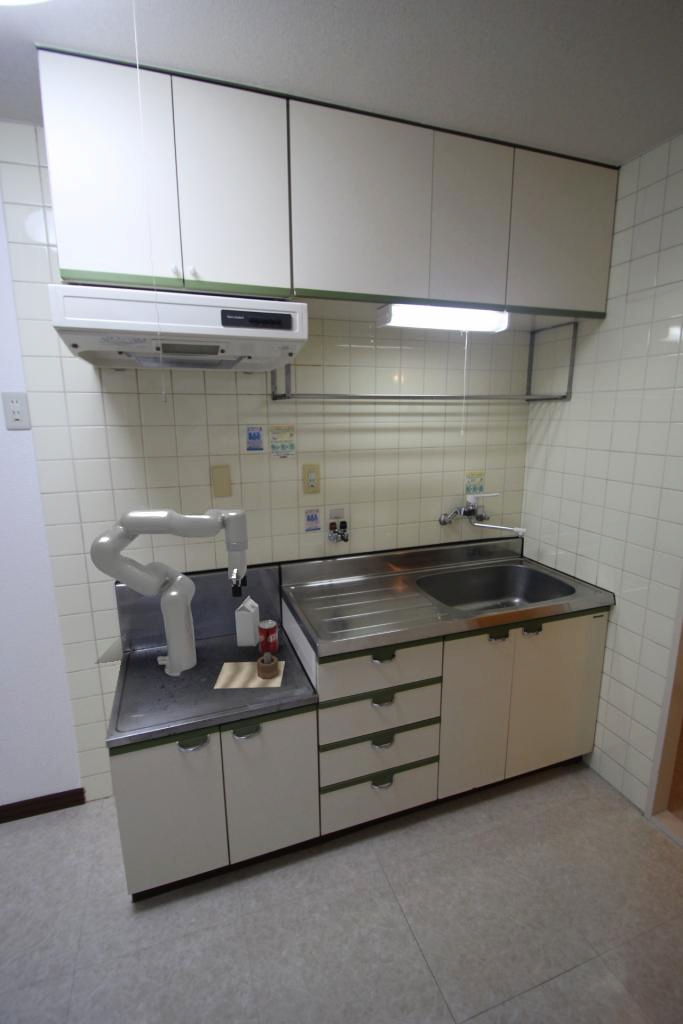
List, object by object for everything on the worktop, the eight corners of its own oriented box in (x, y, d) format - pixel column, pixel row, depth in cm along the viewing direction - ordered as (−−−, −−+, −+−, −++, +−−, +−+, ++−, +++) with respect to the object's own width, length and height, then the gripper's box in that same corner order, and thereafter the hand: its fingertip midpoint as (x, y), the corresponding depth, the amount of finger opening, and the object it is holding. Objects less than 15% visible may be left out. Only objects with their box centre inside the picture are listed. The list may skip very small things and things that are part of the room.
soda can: (280, 648, 182) (279, 620, 180) (276, 658, 175) (274, 628, 173) (262, 647, 183) (260, 619, 180) (257, 657, 176) (255, 628, 173)
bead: (256, 679, 159) (255, 666, 158) (259, 668, 166) (259, 655, 164) (276, 678, 159) (276, 665, 158) (279, 668, 166) (278, 655, 164)
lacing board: (213, 692, 154) (211, 668, 152) (224, 666, 170) (222, 643, 168) (280, 690, 155) (279, 666, 153) (285, 664, 170) (284, 642, 168)
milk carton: (237, 647, 184) (234, 602, 180) (244, 638, 191) (241, 594, 187) (254, 648, 183) (251, 603, 179) (260, 639, 190) (258, 595, 185)
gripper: (231, 538, 171) (234, 582, 174) (220, 552, 154) (224, 601, 157) (251, 538, 171) (254, 582, 174) (243, 552, 154) (246, 600, 158)
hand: (240, 591), depth 166 cm, fingers open, 9 cm apart
